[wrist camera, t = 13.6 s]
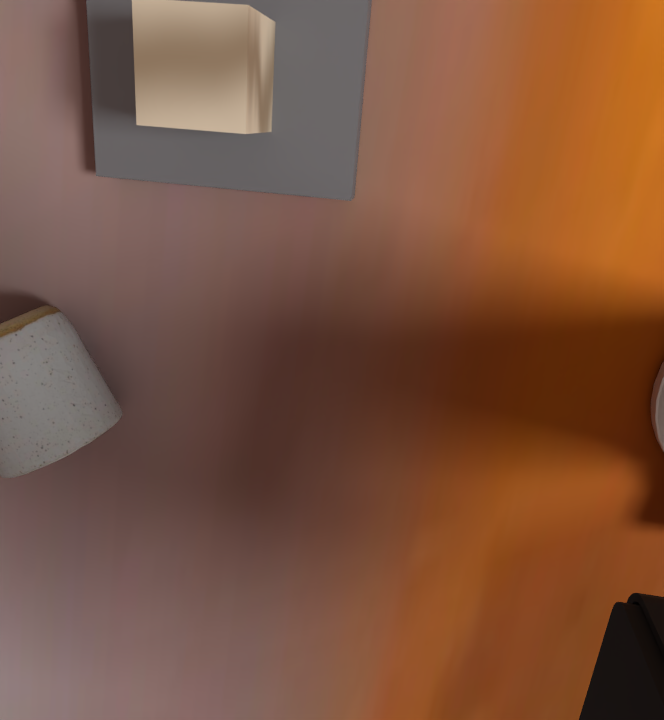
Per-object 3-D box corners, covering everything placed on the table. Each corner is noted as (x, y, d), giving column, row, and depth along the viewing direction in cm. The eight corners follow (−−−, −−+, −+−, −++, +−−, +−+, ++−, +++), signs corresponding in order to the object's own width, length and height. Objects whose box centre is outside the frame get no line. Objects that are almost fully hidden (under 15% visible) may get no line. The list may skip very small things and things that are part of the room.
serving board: (354, 197, 34) (351, 200, 33) (108, 173, 36) (96, 175, 35) (374, -37, 31) (372, -45, 29) (97, -53, 32) (82, -61, 31)
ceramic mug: (77, 285, 39) (-4, 323, 32) (144, 399, 41) (82, 459, 34) (-49, 346, 42) (-149, 393, 35) (20, 450, 44) (-61, 514, 37)
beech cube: (271, 131, 32) (245, 134, 28) (177, 124, 33) (136, 125, 28) (275, 22, 31) (248, 4, 26) (175, 15, 31) (131, -3, 27)
